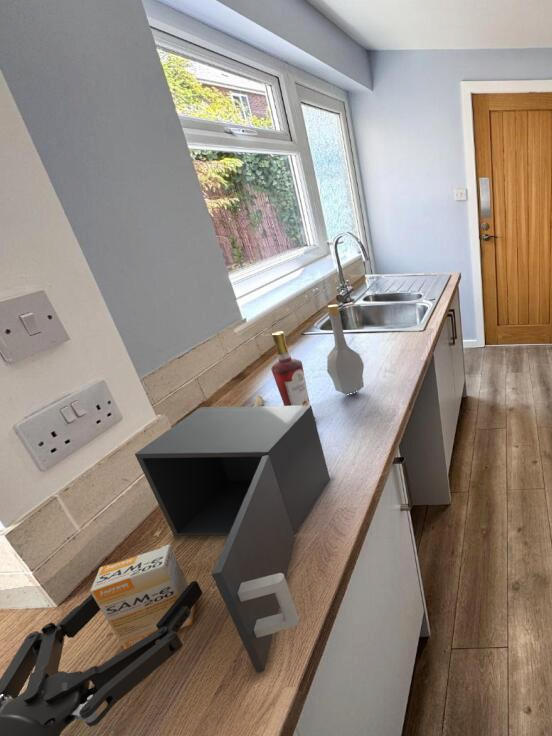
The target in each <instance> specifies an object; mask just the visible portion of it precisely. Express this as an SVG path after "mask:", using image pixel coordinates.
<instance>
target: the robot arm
mask: <svg viewBox="0 0 552 736" xmlns="http://www.w3.org/2000/svg"><path fill="white" fill-rule="evenodd" d="M203 595H204V593H203V591H202V588H201V587H200V584H199V583H198V581H197V580H192V581H191V582H189V583H188V587H187V588H186V589H185V590H184V591H183V593H182V594H181V595H180V596H179V598H178V599H177V600H176V601H175V602H174V604H173V605H172V606H171V607H170V609H169V610H168V611H167V612H166V613H165V615H164V616H163V617H162V618H161V619H160V621H159V622H158V623H157V624H156V626H157V628H158V630H156V631H155V632H153V633H152V634H150V635H148V636H147V637H145V638H144V639H142V640H140V641H139V642H137V643H135V644H134V645H132V646H131V647H129V648H127V649H126V650H125V649H124V650H123V651H121V652H119V653H118V654H116V655H115V656H113V657H111V658H110V659H108V660H106V661H105V662H103V663H101V664H100V665H95V666H91V667H89V668H88V669H86V670H84V671H81V670H79V671H76V670H75V671H71V672H66V671H63V670H59V667H60V664H61V658H62V655H63V649H64V644H65V640H66V638H65V636H66V637H67V638H72V639H73V638H74V637H75V636H76V635H78V633H79V632H80V631H81V630H82V629H83V628H84V627H86V625H87V624H88V623H89V622H90V621H91V620H92V619H94V617H95V616H96V615H97V614H98V613H99V612H100V611H101V609H100V607H99V606H98V604H97V602H96V601H95V599H94V597H93V596H92V594H91V593H90V594H89V595H88V596H87V597H86V598H85V599H84V600H83V601H82V602H80V604H79V605H77V606H75V607H74V608H73V609H71V610H70V611H69V612H68V613H67V614H66V615H65V616H64V617H63V618H62V619H61V620H60V621H59V622H58V623H56V624H55V622H49V623H47V624H45V625H44V626H43V627H42V628H41V632H40V631H39V630H35V631H33V632H31V633H29V634H28V635H27V636H26V637H25V638H24V639H23V642H22V643H21V645H20V646H19V648H18V649H17V651H16V653H15V655H14V656H13V658H12V659H11V661H10V663H9V664H8V666H7V667H6V669H5V671H4V672H3V674H2V675H1V677H0V736H61V734H62V732H63V731H64V730H65V729H66V728H67V727H68V726H69V725H70V724H72V723H73V722H74V721H75V720H78V721H84V722H85V723H86V724H87V726H88V727H94V726H97V724H99V723H100V722H101V721H102V720H103V718H104V717H105V716H106V715H107V714H108V712H110V710H112V708H113V707H114V706H115V705H116V704H117V703H118V702H120V700H122V699H123V698H124V697H125V696H126V695H128V694H129V693H130V692H131V691H132V690H133V689H134V688H136V687H137V686H138V685H139V684H140V683H142V682H143V681H144V680H146V678H148V677H149V676H150V675H151V674H153V672H155V671H156V670H157V669H158V668H159V667H160V666H162V665H163V664H164V663H165V662H167V661H168V660H169V659H170V658H171V657H172V656H174V655H175V654H176V653H177V652H179V650H181V649H182V648H183V645H184V644H183V642H182V639H181V638H180V636H179V635H178V632H179V631H180V629H181V628H180V627H181V626H182V625H183V624H184V622H185V621H186V619H187V618H188V617H189V616H190V613H191V612H190V609H191V608H192V607H193V605H194V604H195V605H196V603H197V602H198V600H199V599H200V598H201V596H203ZM157 641H158V642H157ZM27 681H28V682H27ZM26 682H27V685H26V689H25V690H24V692H22V693H21V691H22V690H23V687H24V686H25V684H26ZM90 682H91V683H92V684H93V686H91V687H90V684H91V683H90ZM20 693H21V694H20Z"/></svg>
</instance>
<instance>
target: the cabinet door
mask: <svg viewBox="0 0 552 736" xmlns="http://www.w3.org/2000/svg"><path fill="white" fill-rule="evenodd" d="M296 539H297V538H296V534H295V535H294V532H293V529H292V526H291V522H290V519H289V516H288V513H287V510H286V507H285V504H284V501H283V498H282V495H281V492H280V488H279V485H278V482H277V479H276V476H275V473H274V470H273V467H272V464H271V461H270V457H269V455H266V456H262V459H261V461H260V463H259V466H258V468H257V470H256V473H255V475H254V477H253V480H252V482H251V484H250V487H249V489H248V491H247V494H246V496H245V498H244V501H243V503H242V505H241V508H240V510H239V512H238V515H237V517H236V519H235V522H234V524H233V526H232V529H231V531H230V533H229V536H227V538H226V540H225V542H224V545H223V548H222V550H221V552H220V554H219V556H218V558H217V562H216V564H215V566H214V568H213V571H212V572H211V576H212V579H213V581H214V583H215V584H216V587H217V589H218V591H219V593H220V595H221V598H222V600H223V602H224V604H225V606H226V607H225V608H226V609H227V611H228V613H229V615H230V617H231V620H232V623H233V624H234V627H235V629H236V631H237V633H238V636H239V637H240V640H241V642H242V644H243V646H244V648H245V650H246V653H247V655H248V657H249V659H250V662H251V664H252V666H253V668H254V670H255V673H256V674H259V673H263V672H264V671H265V670H266V667H267V663H268V657H269V654H270V649H271V646H272V645H271V644H272V640H273V637H274V634H275V633H279V632H282V631H286V630H289V629H293V628H295V627H296V626H298V624H299V623H300V621H301V620H300V616H299V613H298V611H297V608H296V604H295V602H294V600H293V597H292V594H291V591H290V588H289V585H288V582H287V576H288V573H289V568H290V563H291V559H292V555H293V551H294V547H295V544H296V543H295V542H296ZM279 610H280V611H281V612H280V613H279Z"/></svg>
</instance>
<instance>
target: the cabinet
mask: <svg viewBox="0 0 552 736" xmlns="http://www.w3.org/2000/svg"><path fill="white" fill-rule="evenodd" d="M314 417H315V414H314V411H313V408H312V405H311V404H310V405H306V406H284V405H262V406H253V405H250V406H248V405H247V406H201V407H198V408H197V409H196V410H195V411H193V412H191V413H190V414H188V415H187V416H186V417H185V418H183V419H182V420H180V421H179V422H177V423H176V424H175V425H173V426H172V427H170V428H169V429H167V430H165V432H163V433H162V434H160V435H159V436H157V438H155V439H153V440H152V441H151V442H149V443H148V444H146V445H145V446H144V447H142V448H141V449H140V450H138V451H136V452H135V453H134V457H135V458H136V460H137V462H138V464H139V466H140V468H141V471H142V472H143V475H144V477H145V479H146V481H147V483H148V485H149V487H150V489H151V492H152V493H153V495H154V497H155V499H156V502H157V504H158V506H159V508H160V510H161V512H162V514H163V516H164V518H165V520H166V523H167V525H168V526H169V528H170V531H171V533H172V535H173V537H176V538H177V537H228V536H229V533H230V531H231V529H232V526H233V524H234V522H235V519H236V517H237V515H238V512H239V510H240V508H241V505H242V503H243V501H244V498H245V496H246V494H247V491H248V489H249V487H250V484H251V482H252V480H253V477H254V475H255V473H256V470H257V468H258V466H259V463H260V461H261V459H262V456H266V455H269V457H270V461H271V464H272V467H273V470H274V473H275V476H276V479H277V482H278V485H279V488H280V492H281V495H282V498H283V501H284V504H285V507H286V510H287V513H288V516H289V519H290V522H291V526H292V529H293V532H294V535H295V536H296V534H297V533H298V531H299V530H300V529H301V526H302V525H303V523H304V522H305V520H306V519H307V517H308V516H309V514H310V513H311V511H312V509H313V507H314V506H315V504H316V503H317V501H318V500H319V498H320V496H321V495H322V494H323V492H324V490H325V489H326V487H327V486H328V484H329V482H330V481H331V477H330V473H329V469H328V465H327V462H326V461H327V460H326V457H325V453H324V449H323V445H322V442H321V438H320V434H319V431H318V426H317V423H316V417H315V418H314Z"/></svg>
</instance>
